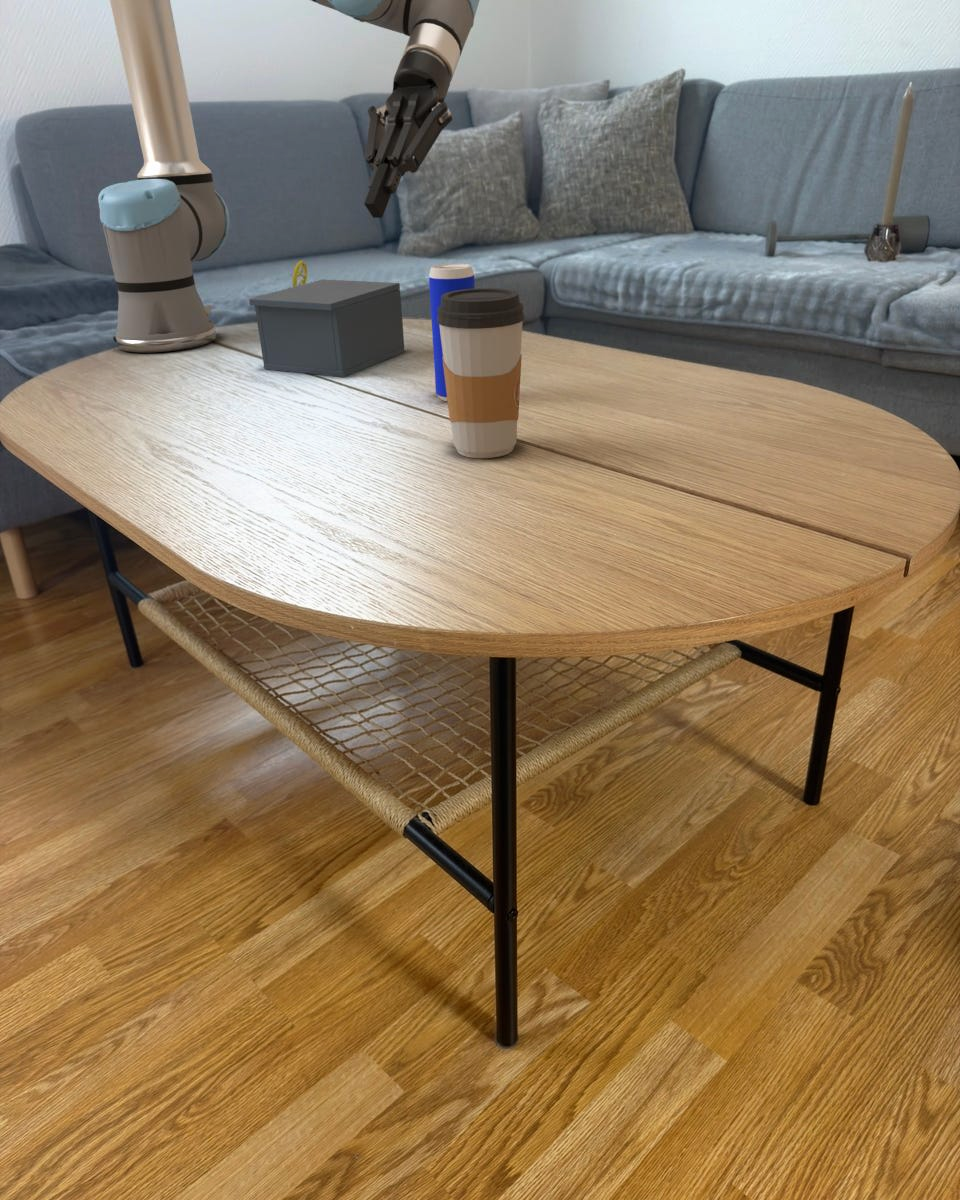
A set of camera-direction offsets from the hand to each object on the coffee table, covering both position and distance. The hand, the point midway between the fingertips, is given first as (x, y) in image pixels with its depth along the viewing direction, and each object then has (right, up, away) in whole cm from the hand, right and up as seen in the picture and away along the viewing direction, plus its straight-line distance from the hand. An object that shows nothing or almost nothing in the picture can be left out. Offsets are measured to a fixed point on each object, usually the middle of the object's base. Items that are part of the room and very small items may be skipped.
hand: (373, 210), depth 118 cm
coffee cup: (+15, -38, -30) cm, 50 cm away
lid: (-7, -11, +2) cm, 13 cm away
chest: (-6, -18, +7) cm, 21 cm away
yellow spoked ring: (-17, -8, +27) cm, 33 cm away
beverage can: (+12, -28, -12) cm, 33 cm away
